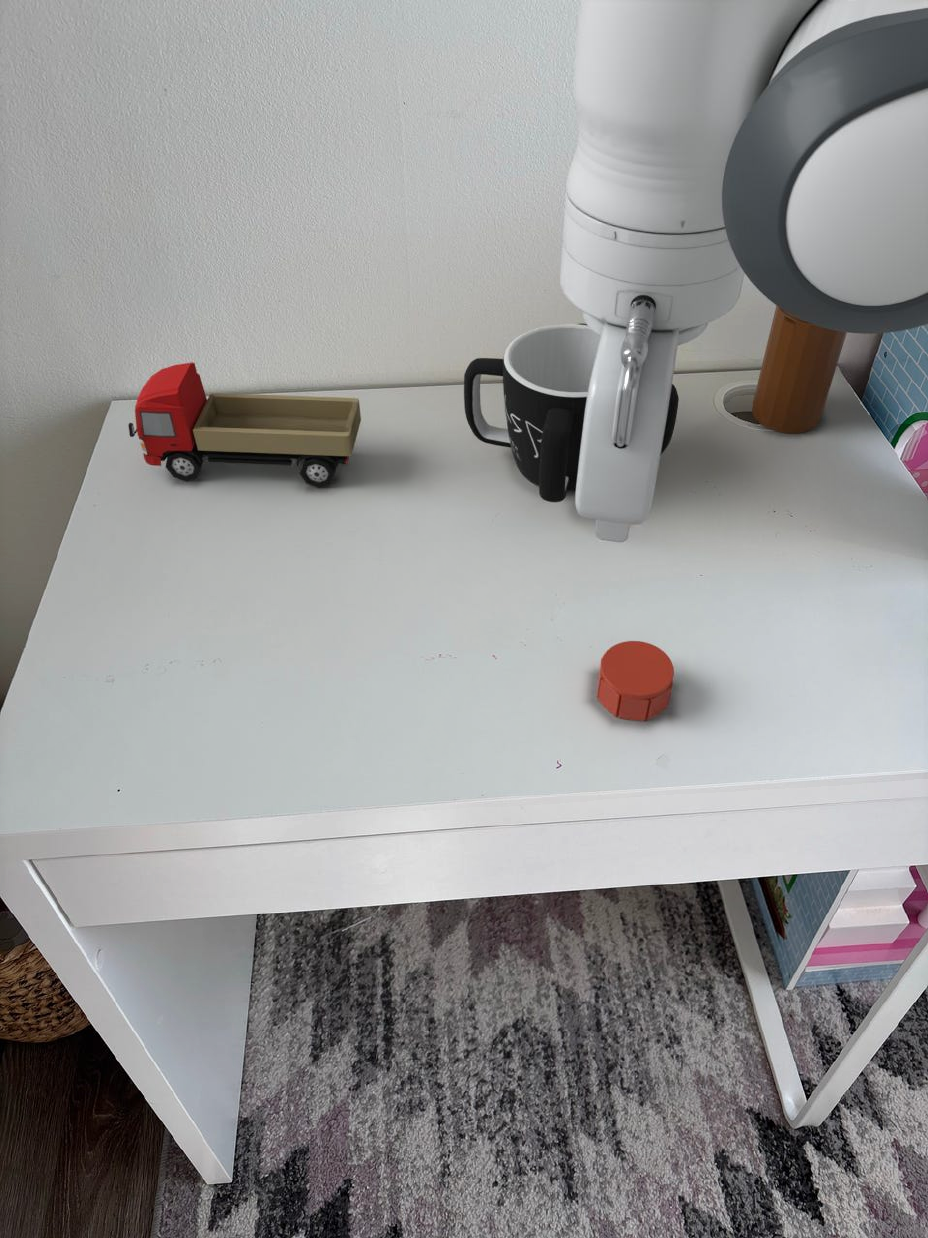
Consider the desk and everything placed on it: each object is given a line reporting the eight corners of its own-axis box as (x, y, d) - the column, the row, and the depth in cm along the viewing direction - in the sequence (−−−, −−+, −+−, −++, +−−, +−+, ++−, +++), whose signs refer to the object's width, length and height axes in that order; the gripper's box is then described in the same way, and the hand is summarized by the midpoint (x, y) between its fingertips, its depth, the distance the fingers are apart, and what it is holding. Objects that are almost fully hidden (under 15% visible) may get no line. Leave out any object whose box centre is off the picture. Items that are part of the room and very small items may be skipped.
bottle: (833, 417, 99) (880, 269, 87) (788, 441, 96) (831, 291, 85) (782, 388, 103) (820, 242, 91) (738, 410, 100) (771, 262, 88)
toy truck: (163, 442, 97) (138, 354, 90) (364, 450, 96) (355, 361, 89) (142, 484, 93) (114, 395, 85) (354, 493, 91) (343, 403, 84)
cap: (683, 698, 74) (689, 672, 72) (630, 732, 72) (635, 706, 69) (634, 655, 77) (639, 630, 75) (583, 686, 75) (586, 661, 72)
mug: (453, 442, 97) (451, 334, 88) (592, 402, 101) (602, 296, 93) (529, 540, 86) (535, 428, 78) (679, 490, 91) (701, 380, 82)
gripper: (708, 376, 39) (660, 614, 49) (728, 174, 53) (688, 392, 63) (553, 359, 40) (538, 595, 50) (613, 165, 54) (591, 381, 64)
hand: (622, 480), depth 56 cm, fingers open, 8 cm apart
